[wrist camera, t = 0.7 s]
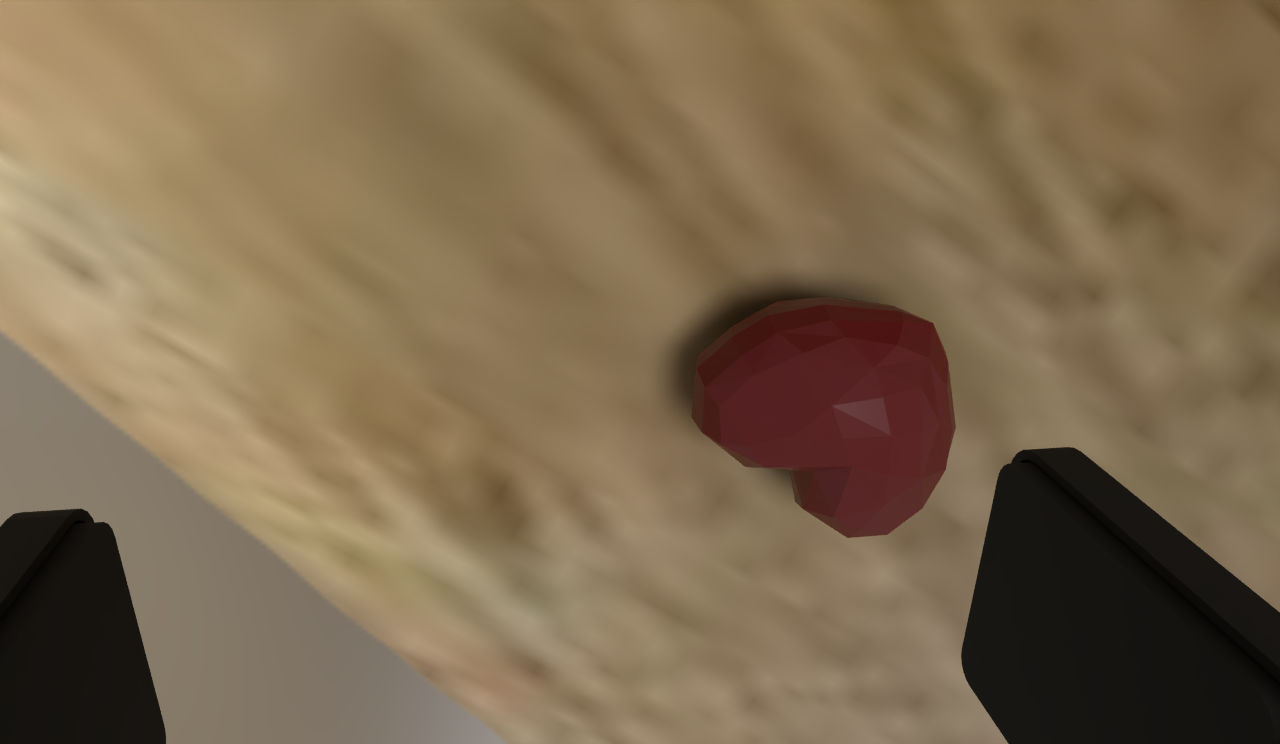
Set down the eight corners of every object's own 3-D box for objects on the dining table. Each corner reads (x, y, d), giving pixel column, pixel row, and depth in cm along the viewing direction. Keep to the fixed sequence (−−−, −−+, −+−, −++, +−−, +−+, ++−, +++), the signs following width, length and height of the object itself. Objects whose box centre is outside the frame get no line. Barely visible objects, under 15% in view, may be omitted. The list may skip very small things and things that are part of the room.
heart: (810, 199, 37) (652, 358, 41) (866, 277, 31) (671, 460, 34) (981, 356, 42) (827, 488, 45) (1061, 453, 35) (874, 599, 39)
